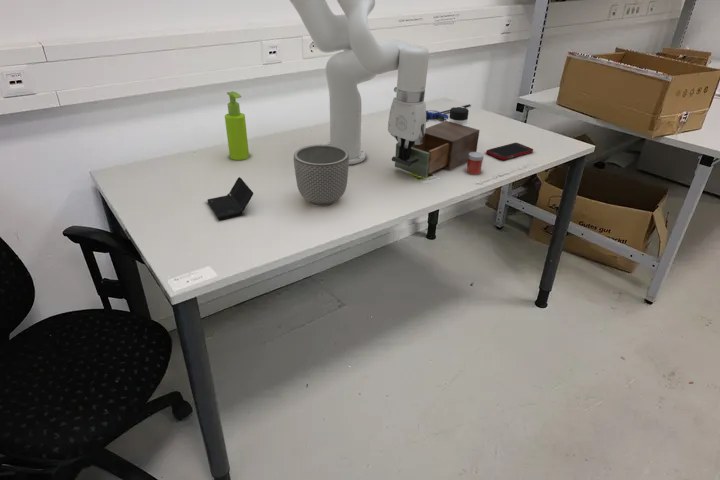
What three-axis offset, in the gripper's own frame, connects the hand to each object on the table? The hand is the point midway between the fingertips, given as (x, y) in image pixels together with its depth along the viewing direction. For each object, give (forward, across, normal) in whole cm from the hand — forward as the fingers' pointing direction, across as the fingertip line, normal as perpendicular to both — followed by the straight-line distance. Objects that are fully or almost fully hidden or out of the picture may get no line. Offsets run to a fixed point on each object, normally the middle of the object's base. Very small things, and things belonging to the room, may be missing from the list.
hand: (404, 159), depth 140 cm
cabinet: (+5, +1, +21) cm, 21 cm away
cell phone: (+5, +14, +39) cm, 42 cm away
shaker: (+5, +13, +17) cm, 22 cm away
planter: (+6, -5, -27) cm, 28 cm away
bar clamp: (+6, -25, +61) cm, 66 cm away
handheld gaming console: (+6, -19, -46) cm, 50 cm away
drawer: (+4, +1, +6) cm, 8 cm away
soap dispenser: (+7, -45, -25) cm, 52 cm away
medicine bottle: (+6, -4, +34) cm, 35 cm away
